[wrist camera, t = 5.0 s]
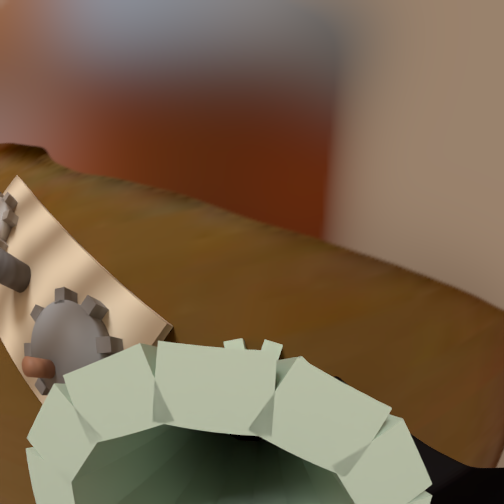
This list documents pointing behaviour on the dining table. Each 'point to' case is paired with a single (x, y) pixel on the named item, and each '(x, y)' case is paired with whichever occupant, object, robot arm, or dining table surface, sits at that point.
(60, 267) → the gear board
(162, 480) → the gear sleeve
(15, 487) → the dining table surface
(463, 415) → the dining table surface
